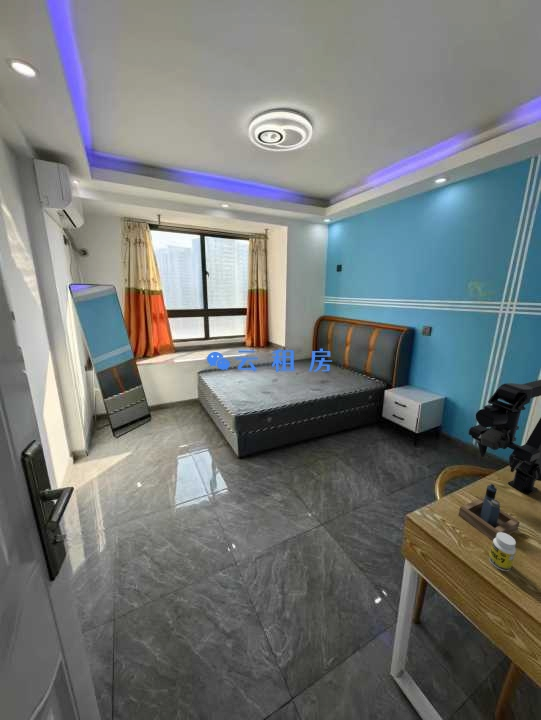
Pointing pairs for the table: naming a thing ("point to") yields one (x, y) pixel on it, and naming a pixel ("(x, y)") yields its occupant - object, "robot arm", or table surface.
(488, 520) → the vaping device
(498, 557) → the supplement bottle
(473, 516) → the socket block
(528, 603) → the table surface
